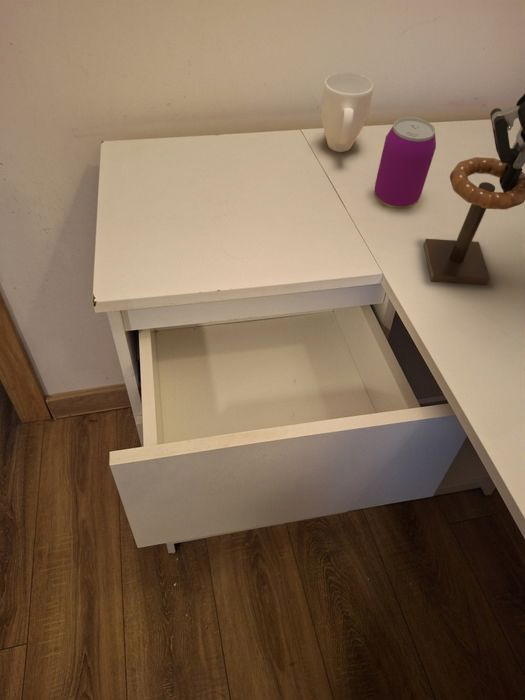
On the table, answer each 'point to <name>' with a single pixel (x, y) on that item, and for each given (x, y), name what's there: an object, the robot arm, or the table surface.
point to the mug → (345, 108)
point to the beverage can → (405, 162)
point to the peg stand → (460, 252)
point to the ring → (479, 196)
